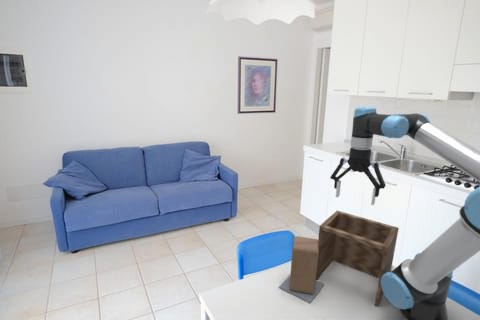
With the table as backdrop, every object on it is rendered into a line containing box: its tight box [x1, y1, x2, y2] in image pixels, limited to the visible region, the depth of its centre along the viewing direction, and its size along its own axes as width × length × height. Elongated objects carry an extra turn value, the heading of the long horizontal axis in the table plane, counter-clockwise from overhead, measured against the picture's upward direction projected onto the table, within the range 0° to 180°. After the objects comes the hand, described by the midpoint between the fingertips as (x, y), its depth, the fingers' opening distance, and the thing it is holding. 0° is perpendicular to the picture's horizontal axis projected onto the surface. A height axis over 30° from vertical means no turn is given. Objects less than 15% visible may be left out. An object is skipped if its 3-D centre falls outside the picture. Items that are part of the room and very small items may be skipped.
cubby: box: [316, 210, 400, 308], centre depth 123 cm, size 26×20×26 cm
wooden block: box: [289, 235, 319, 294], centre depth 119 cm, size 10×10×20 cm
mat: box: [278, 275, 325, 304], centre depth 122 cm, size 14×14×1 cm
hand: (354, 200), depth 116 cm, fingers open, 13 cm apart
